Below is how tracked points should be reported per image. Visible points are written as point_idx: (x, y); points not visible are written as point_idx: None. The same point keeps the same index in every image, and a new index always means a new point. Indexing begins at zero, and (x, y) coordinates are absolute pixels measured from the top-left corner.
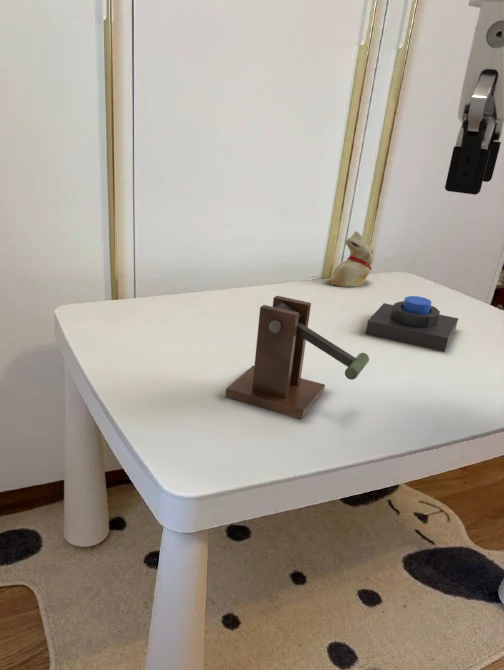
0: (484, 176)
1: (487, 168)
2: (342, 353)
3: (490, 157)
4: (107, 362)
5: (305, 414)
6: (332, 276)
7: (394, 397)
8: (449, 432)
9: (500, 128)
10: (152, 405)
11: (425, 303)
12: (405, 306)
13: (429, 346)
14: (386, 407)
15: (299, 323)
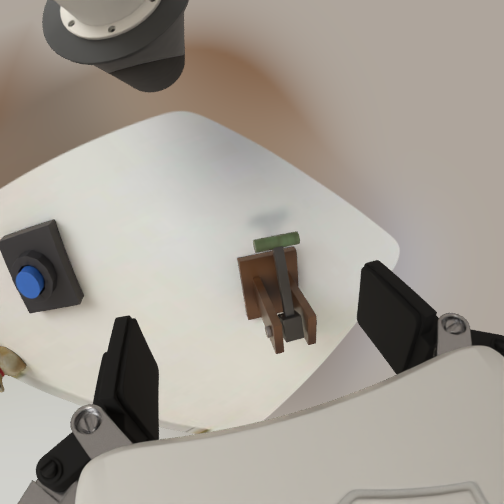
0: (137, 334)
1: (136, 347)
2: (283, 260)
3: (132, 370)
4: (298, 373)
5: (285, 248)
6: (22, 370)
7: (196, 207)
8: (229, 139)
9: (131, 443)
10: (333, 322)
11: (28, 275)
12: (41, 289)
13: (58, 235)
14: (222, 203)
15: (288, 313)
